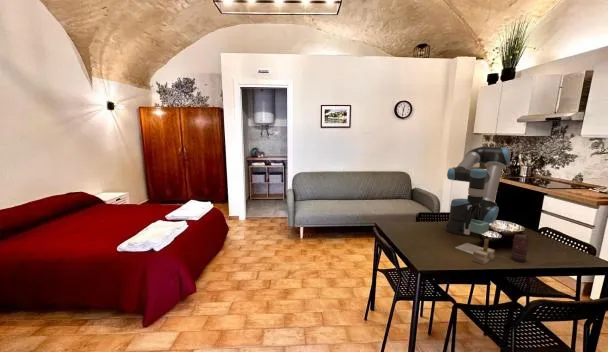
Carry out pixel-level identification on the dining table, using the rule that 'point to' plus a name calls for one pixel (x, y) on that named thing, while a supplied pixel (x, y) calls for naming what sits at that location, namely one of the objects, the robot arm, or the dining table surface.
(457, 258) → the dining table surface
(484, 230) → the c link
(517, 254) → the can
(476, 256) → the hook stand
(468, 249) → the felt mat
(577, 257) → the dining table surface
